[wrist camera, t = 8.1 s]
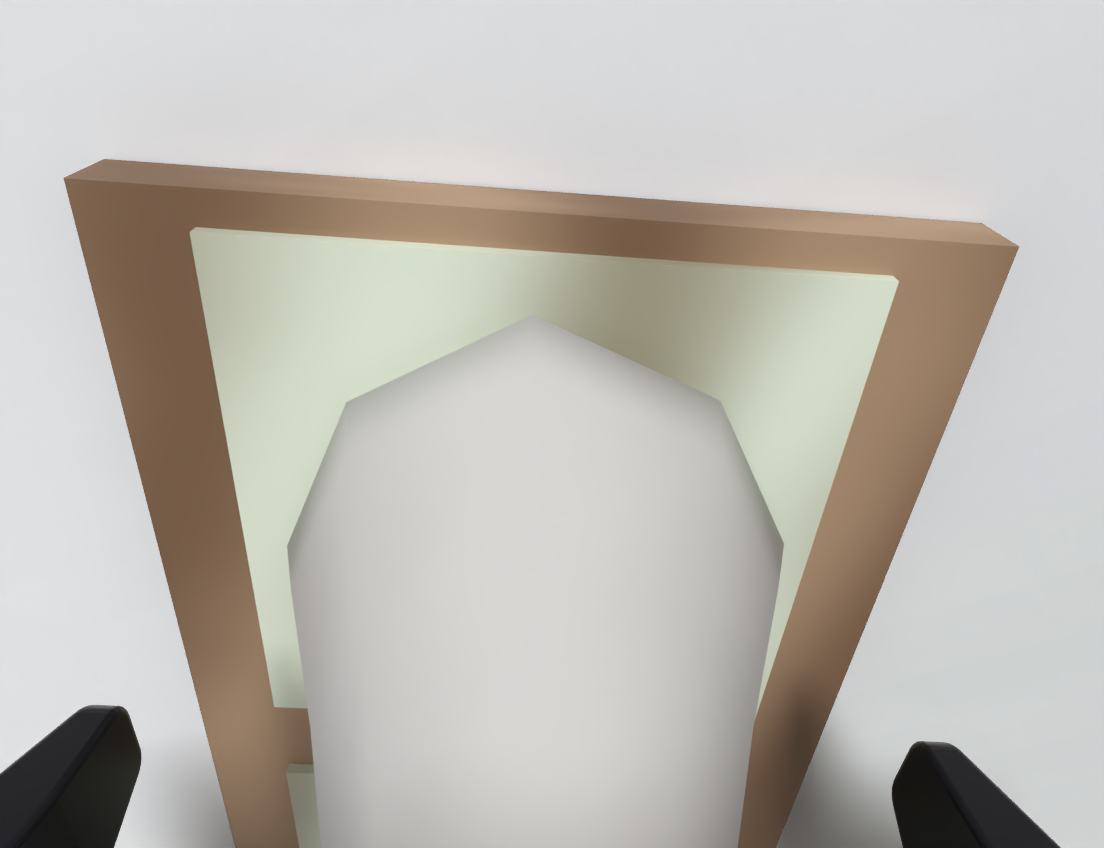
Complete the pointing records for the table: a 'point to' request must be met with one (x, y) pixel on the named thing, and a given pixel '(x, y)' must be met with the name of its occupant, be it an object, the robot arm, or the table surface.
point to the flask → (533, 605)
